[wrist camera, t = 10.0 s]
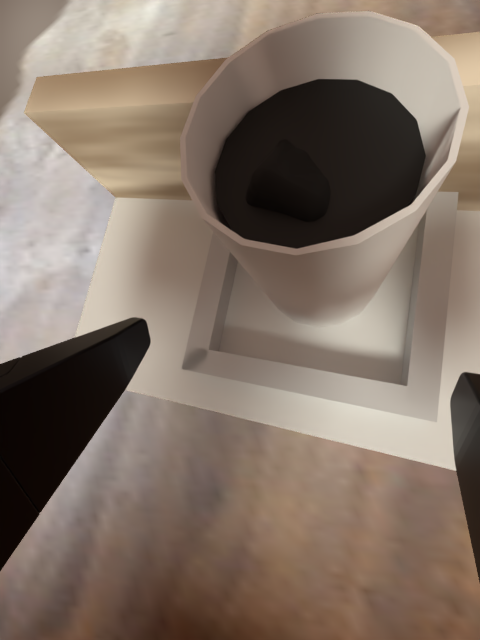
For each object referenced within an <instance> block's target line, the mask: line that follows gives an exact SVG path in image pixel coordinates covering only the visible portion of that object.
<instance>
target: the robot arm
mask: <svg viewBox="0 0 480 640" xmlns="http://www.w3.org/2000/svg"><path fill="white" fill-rule="evenodd" d="M150 343H151V339H150V334H149V330H148V325H147V322H146V320H145V319H143V318H137V317H132V318H129V319H126V320H123V321H120V322H117V323H115V324H112V325H109V326H106V327H103V328H101V329H98V330H95V331H92V332H89V333H87V334H84V335H81V336H78V337H75V338H72V339H70V340H67V341H64V342H61V343H58V344H56V345H53V346H50V347H47V348H44V349H41V350H39V351H36V352H33V353H30V354H27V355H25V356H22V357H21V358H20V357H19V358H16V359H13V360H10V361H8V362H5V363H2V364H0V571H1V569H2V568H3V566H4V565H5V564H6V562H7V561H8V559H9V558H10V556H11V555H12V553H13V552H14V550H15V549H16V548H17V546H18V545H19V543H20V542H21V540H22V539H23V537H24V536H25V534H26V533H27V532H28V530H29V529H30V527H31V526H32V524H33V523H34V521H35V520H36V519H37V517H38V516H39V513H40V512H41V511H42V509H43V508H44V507H45V505H46V504H47V502H48V501H49V499H50V498H51V496H52V495H53V494H54V492H55V491H56V489H57V488H58V486H59V485H60V483H61V482H62V480H63V479H64V478H65V476H66V475H67V473H68V472H69V470H70V469H71V467H72V466H73V465H74V463H75V462H76V460H77V459H78V457H79V456H80V454H81V453H82V451H83V450H84V449H85V447H86V446H87V444H88V443H89V441H90V440H91V438H92V437H93V436H94V434H95V433H96V431H97V430H98V428H99V427H100V425H101V424H102V422H103V421H104V420H105V418H106V417H107V415H108V414H109V412H110V411H111V409H112V408H113V407H114V405H115V404H116V402H117V401H118V399H119V398H120V396H121V395H122V393H123V392H124V391H125V389H126V388H127V386H128V385H129V383H130V381H131V379H132V378H133V376H134V374H135V372H136V370H137V369H138V367H139V365H140V363H141V361H142V360H143V358H144V356H145V354H146V352H147V350H148V349H149V347H150ZM450 410H451V423H452V437H453V451H454V461H455V466H456V472H457V476H458V481H459V486H460V491H461V496H462V500H463V505H464V510H465V515H466V520H467V524H468V529H469V534H470V539H471V543H472V548H473V553H474V558H475V563H476V567H477V572H478V577H479V582H480V374H476V373H470V372H463V373H462V374H461V375H460V376H459V379H458V381H457V383H456V386H455V388H454V391H453V393H452V395H451V400H450Z"/></svg>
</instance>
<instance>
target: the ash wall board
mask: <svg viewBox="0 0 480 640" xmlns="http://www.w3.org/2000/svg"><path fill="white" fill-rule="evenodd" d="M431 38H432V39H433V40H435V41H436V42H437V43H438V44H439V45H440V46H441V47H442V48H443V49H444V50H446V51H447V52H448V53H449V54H450V55H451V56H452V57H453V58H454V59H455V62H456V65H457V68H458V72H459V75H460V78H461V81H462V85H463V88H464V91H465V95H466V98H467V101H468V105H469V110H468V114H467V118H466V122H465V126H464V130H463V135H462V139H461V143H460V147H459V151H458V155H457V159H456V162H455V164H454V165H453V167H452V169H451V170H450V172H449V174H448V175H447V177H446V179H445V180H444V182H443V184H442V185H441V187H440V189H439V190H438V192H459V193H458V203H457V210H464V211H480V32H475V33H465V34H455V35H445V36H435V37H431ZM226 59H227V58H220V59H210V60H200V61H190V62H181V63H171V64H161V65H151V66H141V67H132V68H122V69H112V70H102V71H92V72H83V73H73V74H63V75H53V76H43V77H37V78H36V81H35V84H34V86H33V89H32V92H31V95H30V97H29V100H28V103H27V106H26V108H25V111H24V113H25V114H26V115H27V116H28V117H29V118H30V119H31V120H32V121H33V122H35V123H36V124H37V125H38V126H39V127H40V128H41V129H42V130H43V131H44V132H45V133H46V134H48V135H49V136H50V137H51V138H52V139H53V140H54V141H55V142H56V143H57V144H58V145H59V146H60V147H62V148H63V149H64V150H65V151H66V152H67V153H68V154H69V155H70V156H71V157H72V158H73V159H75V160H76V161H77V162H78V163H79V164H80V165H81V166H82V167H83V168H84V169H85V170H86V171H88V172H89V173H90V174H91V175H92V176H93V177H94V178H95V179H96V180H97V181H98V182H99V183H100V184H102V185H103V186H104V187H105V188H106V189H107V190H108V191H109V192H110V193H111V194H112V195H113V196H115V197H116V198H143V199H169V200H192V199H191V197H190V195H189V193H188V191H187V190H186V188H185V186H184V184H183V182H182V180H181V153H180V137H181V134H182V131H183V129H184V126H185V123H186V121H187V118H188V115H189V113H190V110H191V107H192V105H193V102H194V99H195V97H196V95H197V94H198V93H199V92H200V90H201V89H202V88H203V87H204V86H205V84H206V83H207V82H208V81H209V79H210V78H211V77H212V76H213V75H214V73H215V72H216V71H217V70H218V68H219V67H220V66H221V65H222V64H223V62H224V61H225V60H226Z"/></svg>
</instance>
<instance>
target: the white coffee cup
mask: <svg viewBox="0 0 480 640" xmlns="http://www.w3.org/2000/svg"><path fill="white" fill-rule="evenodd" d="M468 110H469V105H468V101H467V98H466V95H465V91H464V88H463V85H462V81H461V78H460V75H459V72H458V68H457V65H456V62H455V59H454V58H453V57H452V56H451V55H450V54H449V53H448V52H447V51H446V50H444V49H443V48H442V47H441V46H440V45H439V44H438V43H437V42H436V41H435V40H433V39H432V38H431V37H430V36H429V35H428V34H427V33H426V32H425V31H424V30H422V29H421V28H420V27H419V26H417V25H414V24H411V23H408V22H404V21H401V20H398V19H395V18H391V17H388V16H385V15H382V14H378V13H375V12H372V11H356V12H335V13H317V14H314V15H311V16H308V17H305V18H302V19H299V20H297V21H294V22H291V23H288V24H285V25H282V26H279V27H277V28H274V29H271V30H268V31H266V32H265V33H263V34H262V35H260V36H259V37H258V38H256V39H255V40H253V41H252V42H250V43H249V44H247V45H246V46H245V47H243V48H242V49H240V50H239V51H237V52H236V53H234V54H233V55H232V56H230V57H229V58H227V59H226V60H225V61H224V62H223V64H222V65H221V66H220V67H219V68H218V70H217V71H216V72H215V73H214V75H213V76H212V77H211V78H210V79H209V81H208V82H207V83H206V84H205V86H204V87H203V88H202V89H201V90H200V92H199V93H198V94H197V95H196V97H195V99H194V102H193V105H192V107H191V110H190V113H189V115H188V118H187V121H186V123H185V126H184V129H183V131H182V134H181V137H180V153H181V180H182V182H183V184H184V186H185V188H186V190H187V191H188V193H189V195H190V197H191V199H192V201H193V203H194V205H195V206H196V208H197V210H198V212H199V214H200V216H201V218H202V219H203V220H204V221H205V222H206V224H207V225H208V226H209V227H210V228H211V230H212V231H213V232H214V233H215V234H216V235H217V237H218V238H219V239H220V240H221V241H222V243H223V244H224V245H225V246H226V247H227V249H228V250H229V251H230V252H231V253H232V255H233V256H234V257H235V258H236V259H237V261H238V262H239V263H240V264H241V265H242V266H243V268H244V269H245V270H246V271H247V272H248V274H249V275H250V276H251V277H252V278H253V280H254V281H255V282H256V283H257V284H258V286H259V287H260V288H261V289H262V290H263V292H264V293H265V294H266V295H267V296H268V297H269V299H270V300H271V301H272V302H273V303H274V305H275V306H276V307H277V308H278V310H280V311H281V312H282V313H284V314H285V315H286V316H288V317H289V318H290V319H292V320H293V321H294V322H297V323H301V324H305V325H309V326H313V327H316V328H317V327H325V326H333V325H340V324H342V323H344V322H346V321H347V320H349V319H351V318H353V317H355V316H357V315H359V314H360V313H361V312H362V311H363V310H364V308H365V307H366V306H367V305H368V303H369V302H370V301H371V300H372V298H373V297H374V296H375V294H376V292H377V291H378V289H379V288H380V286H381V284H382V283H383V281H384V279H385V278H386V276H387V274H388V273H389V271H390V269H391V268H392V266H393V264H394V263H395V261H396V259H397V258H398V256H399V255H400V253H401V251H402V250H403V248H404V246H405V245H406V243H407V241H408V240H409V238H410V236H411V235H412V233H413V231H414V230H415V228H416V226H417V225H418V223H419V222H420V220H421V218H422V217H423V215H424V213H425V212H426V210H427V208H428V207H429V205H430V203H431V202H432V200H433V198H434V197H435V195H436V194H437V192H438V190H439V189H440V187H441V185H442V184H443V182H444V180H445V179H446V177H447V175H448V174H449V172H450V170H451V169H452V167H453V165H454V164H455V162H456V159H457V155H458V151H459V147H460V143H461V139H462V135H463V130H464V126H465V122H466V118H467V114H468Z"/></svg>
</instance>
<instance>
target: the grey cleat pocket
mask: <svg viewBox="0 0 480 640" xmlns="http://www.w3.org/2000/svg"><path fill="white" fill-rule="evenodd" d="M458 193H459V192H437V194H436V195H435V197H434V198H433V200H432V202H431V203H430V205H429V207H428V208H427V210H426V212H425V213H424V215H423V217H422V218H421V220H420V222H419V223H418V225H417V226H416V228H415V230H414V231H413V233H412V235H411V236H410V238H409V240H408V241H407V243H406V245H405V246H404V248H403V250H402V251H401V253H400V255H399V256H398V258H397V259H396V261H395V263H394V264H393V266H392V268H391V269H390V271H389V273H388V274H387V276H386V278H385V279H384V281H383V283H382V284H381V286H380V288H379V289H378V291H377V292H376V294H375V296H374V297H373V298H372V300H371V301H370V302H369V303H368V305H367V306H366V307H365V308H364V310H363V311H362V312H361V313H360V314H359V315H357V316H355V317H353V318H351V319H349V320H347V321H346V322H344V323H342V324H340V325H333V326H325V327H317V328H316V327H313V326H309V325H305V324H301V323H297V322H294V321H293V320H292V319H290V318H289V317H288V316H286V315H285V314H284V313H282V312H281V311H280V310H278V308H277V307H276V306H275V305H274V303H273V302H272V301H271V300H270V299H269V297H268V296H267V295H266V294H265V293H264V292H263V290H262V289H261V288H260V287H259V286H258V284H257V283H256V282H255V281H254V280H253V278H252V277H251V276H250V275H249V274H248V272H247V271H246V270H245V269H244V268H243V266H242V265H241V264H240V263H239V262H238V261H237V259H236V258H235V257H234V256H233V255H232V253H231V252H230V251H229V250H228V249H227V247H226V246H225V245H224V244H223V243H222V241H221V240H220V239H219V238H218V237H217V235H216V234H215V233H214V232H213V231H212V230H211V228H210V227H209V226H208V225H207V224H206V222H205V221H204V220H203V219H202V218H201V216H200V214H199V212H198V210H197V208H196V206H195V205H194V203H193V201H192V200H169V199H143V198H115V201H114V205H113V208H112V212H111V215H110V218H109V222H108V225H107V229H106V232H105V236H104V239H103V242H102V246H101V249H100V253H99V256H98V259H97V263H96V266H95V270H94V273H93V277H92V280H91V283H90V287H89V290H88V294H87V297H86V300H85V304H84V307H83V311H82V314H81V318H80V321H79V324H78V328H77V331H76V335H75V337H78V336H81V335H84V334H87V333H89V332H92V331H95V330H98V329H101V328H103V327H106V326H109V325H112V324H115V323H117V322H120V321H123V320H126V319H129V318H132V317H137V318H143V319H145V320H146V322H147V325H148V330H149V334H150V339H151V343H150V347H149V349H148V350H147V352H146V354H145V356H144V358H143V360H142V361H141V363H140V365H139V367H138V369H137V370H136V372H135V374H134V376H133V378H132V379H131V381H130V383H129V385H128V386H127V388H126V389H125V390H127V391H131V392H136V393H140V394H144V395H148V396H152V397H156V398H160V399H164V400H168V401H172V402H177V403H181V404H185V405H189V406H193V407H197V408H201V409H205V410H209V411H213V412H218V413H222V414H226V415H230V416H234V417H238V418H242V419H246V420H250V421H254V422H259V423H263V424H267V425H271V426H275V427H279V428H283V429H287V430H291V431H296V432H300V433H304V434H308V435H312V436H316V437H320V438H324V439H328V440H332V441H337V442H341V443H345V444H349V445H353V446H357V447H361V448H365V449H369V450H373V451H378V452H382V453H386V454H390V455H394V456H398V457H402V458H406V459H410V460H414V461H419V462H423V463H427V464H431V465H435V466H439V467H443V468H447V469H451V470H455V471H456V466H455V461H454V451H453V437H452V423H451V410H450V400H451V395H452V393H453V391H454V388H455V386H456V383H457V381H458V379H459V376H460V375H461V374H462V373H463V372H470V373H476V374H480V211H464V210H457V203H458Z"/></svg>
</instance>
